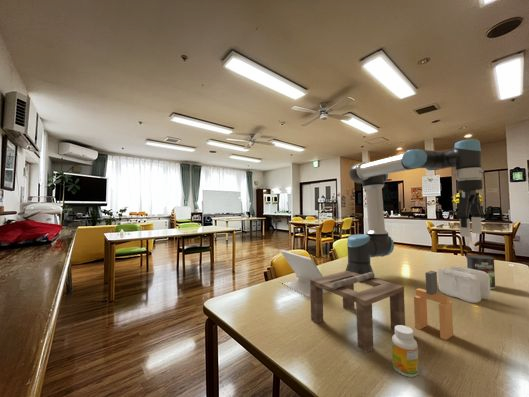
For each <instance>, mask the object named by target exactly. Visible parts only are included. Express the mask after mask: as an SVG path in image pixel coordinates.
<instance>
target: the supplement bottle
mask: <svg viewBox="0 0 529 397" xmlns="http://www.w3.org/2000/svg"><path fill="white" fill-rule="evenodd" d="M414 337H415V334H414V330H413V329H412V328H411V327H409V326H407V325H405V326H403V325H397V326H395V331H394V334H393V335H392V337H391V346H392V347H391V350H392V352H391V354H392V356H391V357H392V366H393V369H394V370H395V371H396V372H397V371H398V373H399V374H400V373H401V375H402V376H405V377H410V378H411V377H412V378H414V377H416V376H417V375H418V374H419V349H418V342H417V340H416V339H415V338H414Z"/></svg>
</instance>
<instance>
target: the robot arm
mask: <svg viewBox="0 0 529 397" xmlns="http://www.w3.org/2000/svg"><path fill="white" fill-rule="evenodd" d="M481 148H482V147H481V142H480V140H479V139H475V138H471V139H463V140H459V141H456V142H455V143H454V148H451V149H446V150H431V149H430V150H429V149H421V148H415V149H413V148H411V149H408V150H406V151H405V152H404V153H401V154H397V155H393V156H390V157H389V156H388V157H386V158H382V159H377V160H373V161H370V162H364V161H363V162H358V163H355V164H353V165H352V166H351V167H350V169H349V170H348V175H349V176H348V177H349V178H350V179H351V180H352V181H353V182H355V183H357V184H362V188H363V189H364V190H365V197H366V199H365V200H366V210H367V224H368V231H367V232H365V234H363V233H362V234H361V233H360V234H353V235H349V236H348V238H347V243H346V246H347V264H346V268H345V271H350V272H354V273H357V274H361V275H362V274H366V273H369V272H373V273H374V270H373V267H372V264H371V258H378V257H382V258H383V257H386V256H389V255H391V253H393V251H394V249H395V248H394V247H395V243H394V240H393V239H392V237H391V236H390V235H389V232H388V231H387V230H386V227H385V226H386V225H385V214H384V213H385V212H384V200H383V190H382V189H383V188H384V187H385V183H386V181H387V179H389V178H388V177H389V174H393V173H398V172H404V171H410V170H415V169H426V170H427V171H439V170H443V169H449V168H455V180H456V182H455V184H456V191H460V192H459V193H458V194H459V197H458V198H459V199H458V206H457V213H456V219H459V235H460V237H464V238H466V237H467V238H471V234H476V235H477V234H479V235H482V232H483V231H482V218H484V217H485V216H484V215H485V214H484V213H483V211H482V210H483V208H482V204H481V200H480V193H479V192H476V191H479V190H480V191H481V190H483V189H484V188H483V180H482V178H483V174H482V173H484V172H485V170H483V169H482V157H481V156H482V153H481V152H482V149H481ZM470 213H471V219H470V218H469V216H470Z"/></svg>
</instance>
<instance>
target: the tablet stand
mask: <svg viewBox="0 0 529 397" xmlns="http://www.w3.org/2000/svg"><path fill="white" fill-rule="evenodd" d="M280 252H281V254H282V256H284V258H285V260H286V261H287V263H288V264H289V266H290V268H291V269H292V271H293V272H294V273H295V277H298V278H299V279H298V280H297V281H294V282H288V283H287V282H286V283H283V284H285V285H287V286H289V287H290V288H289V287H288V288H289V289H291V288H292V289H291V290H293V289H294V290H293V291H295V292H296V291H297V293H298V292H299V294H300V293H301V294H300V295H302V294H303V296H304V297H306V298H311V296H310V280H311V279H315V278H319V277H323V276H324V275H323V274H322V273H321V271H320V269H319V267H318V266H317V264H316V263H315V260H313V259H312V258H311V257H308V256H305V255H300V254H297V253H293V252H290V251H287V250H283V249H282V250H281V251H280ZM283 284H282V285H283ZM285 285H284V286H285ZM287 286H286V287H287ZM328 293H330V292H329V291H326V290H324V289H323V295H325V294H328Z"/></svg>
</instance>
